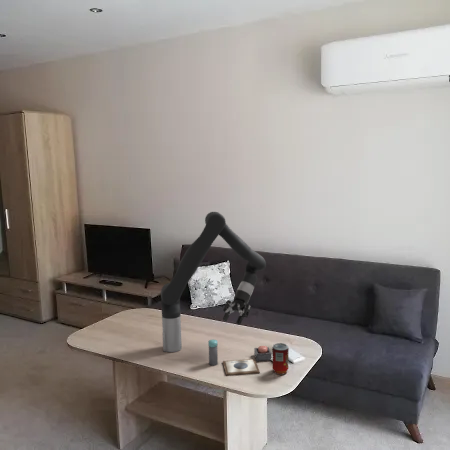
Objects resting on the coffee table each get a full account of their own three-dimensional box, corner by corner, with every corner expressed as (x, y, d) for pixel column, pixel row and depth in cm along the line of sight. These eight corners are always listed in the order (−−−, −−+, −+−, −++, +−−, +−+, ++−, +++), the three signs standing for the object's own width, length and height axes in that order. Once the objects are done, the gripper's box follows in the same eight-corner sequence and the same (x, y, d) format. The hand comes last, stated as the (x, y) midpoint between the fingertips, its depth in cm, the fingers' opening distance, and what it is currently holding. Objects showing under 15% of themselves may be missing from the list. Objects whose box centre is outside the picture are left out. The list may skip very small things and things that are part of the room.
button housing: (257, 361, 210) (256, 354, 209) (254, 354, 217) (254, 348, 216) (271, 360, 211) (271, 353, 210) (268, 353, 218) (268, 347, 217)
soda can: (289, 375, 196) (289, 348, 194) (272, 375, 196) (272, 348, 194) (287, 367, 203) (287, 342, 201) (272, 367, 203) (272, 342, 201)
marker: (209, 366, 206) (208, 343, 204) (208, 362, 210) (208, 339, 208) (218, 365, 206) (217, 342, 205) (217, 361, 210) (216, 339, 209)
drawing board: (226, 375, 196) (226, 373, 196) (222, 362, 209) (222, 360, 209) (259, 373, 198) (259, 371, 198) (254, 360, 211) (254, 358, 211)
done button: (259, 354, 211) (259, 349, 211) (257, 350, 215) (257, 346, 215) (268, 354, 211) (268, 349, 211) (266, 350, 216) (266, 345, 215)
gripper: (229, 287, 225) (216, 316, 219) (251, 291, 215) (238, 322, 209) (237, 294, 230) (224, 323, 223) (259, 298, 220) (246, 328, 214)
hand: (231, 322), depth 216 cm, fingers open, 8 cm apart
